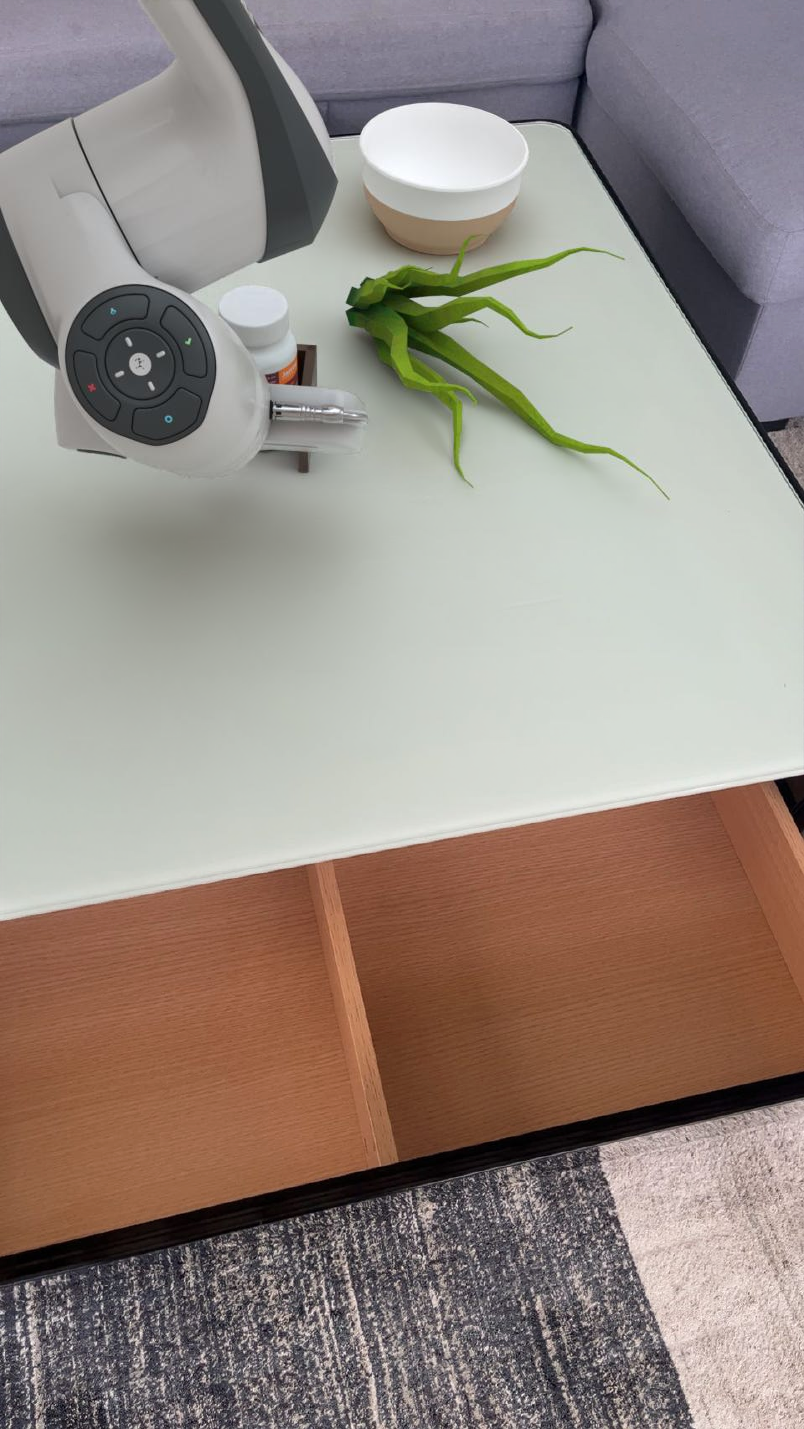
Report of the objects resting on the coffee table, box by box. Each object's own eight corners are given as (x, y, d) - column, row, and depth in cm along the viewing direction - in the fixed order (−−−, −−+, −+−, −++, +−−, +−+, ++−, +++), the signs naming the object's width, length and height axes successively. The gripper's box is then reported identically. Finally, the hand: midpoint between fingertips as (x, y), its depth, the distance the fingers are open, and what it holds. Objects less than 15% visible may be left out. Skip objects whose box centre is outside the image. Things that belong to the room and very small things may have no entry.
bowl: (497, 285, 100) (508, 204, 94) (335, 250, 102) (335, 168, 96) (532, 199, 109) (545, 120, 103) (383, 169, 111) (386, 89, 105)
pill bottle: (298, 454, 85) (294, 332, 76) (221, 452, 85) (207, 329, 76) (300, 404, 89) (297, 282, 80) (226, 402, 88) (214, 279, 79)
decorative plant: (449, 562, 80) (469, 403, 67) (338, 326, 95) (339, 162, 83) (663, 517, 83) (719, 359, 71) (523, 297, 99) (550, 137, 87)
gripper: (371, 362, 64) (372, 391, 78) (31, 338, 64) (92, 372, 77) (365, 468, 66) (367, 479, 79) (31, 446, 65) (91, 460, 79)
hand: (229, 426), depth 78 cm, fingers closed
